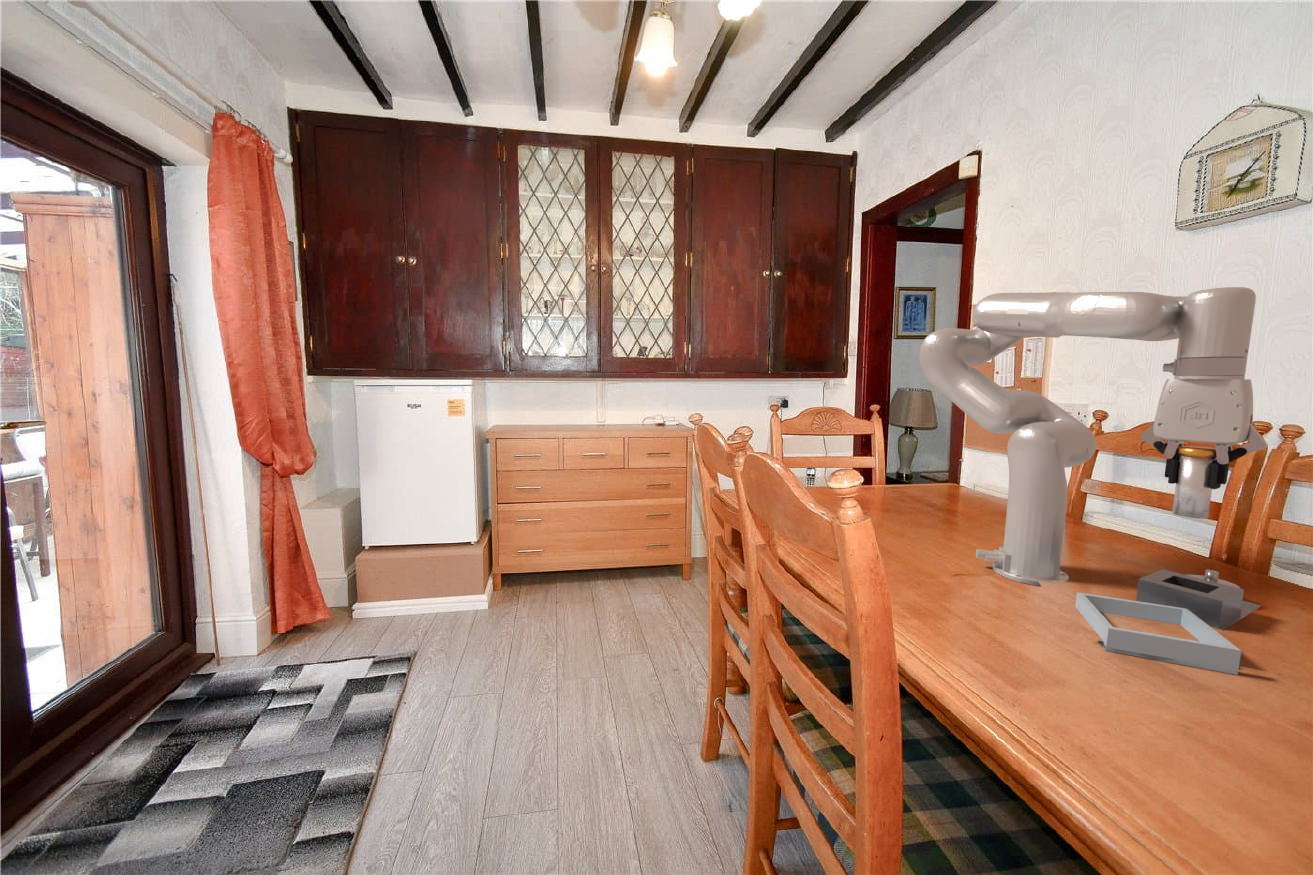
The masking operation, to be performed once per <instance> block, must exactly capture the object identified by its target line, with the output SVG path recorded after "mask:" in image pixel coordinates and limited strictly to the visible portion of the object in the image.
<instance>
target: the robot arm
mask: <svg viewBox="0 0 1313 875" xmlns="http://www.w3.org/2000/svg"><path fill="white" fill-rule="evenodd" d="M1256 297H1257V295H1256V292H1255V291H1254V290H1253V289H1251V288H1248V287H1243V286H1230V287H1229V286H1228V287H1216V288H1215V287H1214V288H1208V289H1207V288H1206V289H1201V290H1198V291H1194V292H1191V293H1190V294H1188V295H1187V296H1185V295H1184V296H1180V295H1179V296H1174V295H1165V294H1159V293H1153V292H1144V291H1089V292H1087V291H1086V292H1084V291H1083V292H1070V291H1069V292H1068V291H1067V292H1066V291H1065V292H1064V291H1063V292H1061V291H1060V292H998V293H993V294H989V295H987V296H985V297H983V298H981V299H980V300H979V301H978V302H977V304H975V306H974V308H973V311H972V321H973V323H974V325H975V326H976V328H974V329H967V328H955V327H954V328H952V327H949V328H942V329H938V330H935V331H933V332H931V333H929V334H928V335H927V336H926V337H925V338H924V339H923V341H922V343H921V345H920V349H919V364H920V368H921V372H922V374H923V376H924V377H925V379H926V380H927V381H928V382H929V384H931V386H932V387H933V388H934V389H936V390H937V391H938V392H939V393H941V394H942V395H943V396H945V397H946V398H947V399H949V400H950V401H951V402H952V403H953V404H954V405H956V407H958V408H959V409H960V410H961V411H962V412H964V414H966V415H967V416H968V417H969V418H971V420H973V421H974V422H975V423H977V424H978V425H979V426H980V427H981V428H982V429H984V430H985V431H987V432H989V433H990V434H996V435H997V434H999V435H1011V436H1010V437H1009V438H1008V442H1007V447H1006V453H1007V454H1006V456H1007V465H1008V492H1007V503H1006V504H1007V506H1006V515H1005V526H1004V527H1005V528H1004V537H1003V538H1004V539H1003V546H999V549H994V550H987V549H983V548H976V549H975V550H976V551H975V557H976V559H982V560H983V559H984V562H989V563H992V570H993V571H994V572H995V573H996V574H998V575H999V574H1000V575H999V576H1001V575H1002V576H1001V577H1003V576H1004V578H1006V579H1009V580H1011V581H1015V582H1018V583H1021V584H1026V585H1031V586H1036V587H1037V586H1038V587H1042V585H1041V584H1040V582H1043V583H1063V582H1067V581H1068V580H1069V579H1070V577H1069V575H1068V574H1067V573H1066V572H1063V571H1062V570H1061V564H1062V555H1063V542H1064V534H1065V526H1066V525H1065V523H1066V516H1067V508H1068V507H1067V505H1068V481H1067V477H1066V471H1065V470H1066V469H1065V468H1071V467H1076V466H1080V465H1082V464H1085V463H1087V462H1088V461H1089V460H1091V459H1092V458H1093V456H1094V455H1095V452H1096V451H1097V439H1096V437H1095V435H1094V433H1093V432H1092V431H1091V429H1090V428H1089V427H1087V426H1086V424H1084V423H1083V422H1081V421H1080V420H1078V418H1076V417H1074V416H1073V415H1071V414H1070V413H1069V412H1067V411H1066V410H1064V409H1063V408H1061V407H1060V406H1058V405H1057V404H1056V403H1054V402H1053V401H1051V400H1050V399H1048V398H1047V397H1045V396H1044V395H1042V394H1040V393H1037V392H1035V391H1032V390H1025V389H1010V388H1009V389H1008V388H1005V387H1003V386H1001V385H999V383H997V382H995V381H994V380H992V379H990V378H989V376H987V375H986V374H985V373H984V372H982V371H979V370H978V369H976V368H974V367H975V366H980V365H983V364H986V363H987V362H990V361H991V360H992V359H994V358H996V357H997V356H999V355H1000V354H1002V353H1003V352H1004V351H1006V350H1008V349H1009V348H1011V347H1013V345H1015V344H1017V343H1018V342H1019V341H1021V340H1022V339H1024V337H1038V338H1055V339H1056V338H1060V337H1064V336H1068V337H1069V336H1071V337H1072V336H1073V337H1075V336H1076V337H1092V338H1093V337H1094V338H1108V339H1118V340H1119V339H1120V340H1135V341H1143V342H1144V341H1145V342H1165V341H1172V340H1178V341H1177V351H1176V356H1175V358H1176V359H1174V361H1172V362H1169V363H1164V364H1163V365H1162V371H1163V372H1167V373H1171V374H1172V376H1173V378H1166V380H1165V382H1164V384H1163V387H1162V390H1161V392H1160V397H1159V398H1158V399H1159V400H1158V403H1157V409H1156V411H1155V417H1154V422H1153V423H1152V424H1151V425H1150V426H1149V427H1148V428H1146V430H1145V431H1144V432H1143V433H1142V434H1141V435H1140V436H1139V438H1140V439H1141V440H1142V441H1144V442H1145V443H1147V444H1149V445H1150V446H1152V447H1154V448H1155V449H1156V450H1157V451H1158V452H1159V453H1160V454H1162V455H1163V457H1164V459H1166V461H1165V468H1164V478H1168V480H1167V483H1168V484H1172V485H1173V484H1174V485H1175V484H1176V480H1177V472H1178V464H1179V456H1180V454H1177V451H1178V446H1184V443H1185V442H1186V443H1198V444H1209V445H1210V444H1211V445H1212V444H1213V445H1214V446H1215V448H1216V455H1217V457H1216V460H1215V463H1214V464H1212V465H1211V473H1210V480H1209V488H1210V489H1212V490H1218V489H1220V488H1221V486H1222V485H1226V484H1227V481H1228V475H1229V474H1228V473H1229V468H1230V463H1233V462H1235V461H1237V460H1239V459H1240V458H1242V457H1244V456H1245V455H1249V454H1252V453H1255V452H1257V451H1261V450H1265V449H1266V448H1268V447H1269V444H1268V443H1267V441H1266V440H1265V438H1264V437H1262V435H1261V434H1260V433H1259V431H1258V430H1257V429H1256V428H1255V427H1254V425H1253V423H1254V392H1253V386H1252V385H1253V384H1252V380H1251V379H1249V378H1247V379H1246V370H1247V363H1248V355H1249V350H1250V341H1251V336H1252V328H1253V323H1254V315H1255V308H1256V303H1257V302H1256V300H1257V299H1256ZM1166 441H1168V442H1166ZM1245 442H1248V444H1246V445H1243V446H1240V447H1236V448H1234V449H1233V445H1236V444H1241V443H1245Z"/></svg>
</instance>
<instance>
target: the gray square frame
mask: <svg viewBox="0 0 1313 875" xmlns="http://www.w3.org/2000/svg"><path fill="white" fill-rule="evenodd" d="M1074 607H1075V608H1076V609H1077V611H1078V612H1079V613H1080V614H1081V615H1082V617H1083V618H1084V619H1085V620H1086V621H1087V623H1088V625H1090V627H1091V628H1092V629H1093V630H1094V631H1095V632H1096V634H1097V635H1098V636H1099V637H1100V639H1101V640H1102V641H1101V640H1097V642H1098V643H1099V644H1100V646H1101V647H1102V648H1103V649H1104V651H1105V652H1111V653H1116V654H1120V655H1127V656H1132V657H1138V658H1143V659H1148V660H1154V661H1159V662H1166V663H1170V664H1175V665H1181V666H1186V667H1190V668H1191V667H1192V668H1198V669H1203V670H1209V671H1212V672H1213V671H1214V672H1220V673H1224V674H1230V675H1236V676H1238V675H1239V668H1240V663H1241V655H1242V650H1241V648H1239V647H1237V646H1236V644H1235V645H1234V644H1233V643H1232V642H1231V641H1230V640H1228V638H1226V637H1224V636H1223V635H1221V634H1220V632H1218V631H1217V630H1215V628H1213V627H1210V626H1209V625H1207V624H1206V623H1205V622H1203V621H1202V620H1201V619H1200V618H1198V617H1197V616H1196V615H1194V614H1193V613H1192V612H1190V611H1189V610H1188V609H1186V608H1179V607H1173V606H1166V605H1159V604H1152V603H1146V602H1139V601H1136V600H1131V599H1124V598H1117V597H1111V596H1110V597H1109V596H1104V595H1097V594H1091V593H1085V592H1078V591H1077V592H1076V597H1075V605H1074ZM1102 613H1104V614H1109V615H1116V616H1123V617H1128V618H1136V619H1142V620H1147V621H1154V622H1161V623H1166V624H1174V625H1180V626H1182V628H1184V630H1186V631H1187V632H1188V633H1190V635H1192V636H1193V637H1194V638H1196V639H1197V640H1193V639H1188V638H1187V639H1186V638H1181V637H1175V636H1169V635H1163V634H1157V633H1150V632H1144V631H1138V630H1132V629H1126V628H1122V627H1120V628H1119V627H1115V626H1113V625H1112V624H1111V623H1110V622H1109V621H1108V619H1107V618H1106V617H1105V616H1104V615H1103V614H1102Z"/></svg>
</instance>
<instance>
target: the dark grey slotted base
mask: <svg viewBox="0 0 1313 875" xmlns="http://www.w3.org/2000/svg"><path fill="white" fill-rule="evenodd" d="M1219 574H1220V572H1219V571H1216V570H1213V569H1205V573H1204V575H1199V574H1185V573H1184V574H1182V573H1179V572H1175V571H1172V570H1166V569H1163V568H1162V569H1160V570H1158V571H1155V572H1152V573H1150V574H1148V575H1146V576H1142V577H1140V578H1139V579H1138V583H1137V591H1136V599H1135V601H1139V602H1146V603H1152V604H1159V605H1166V606H1173V607H1179V608H1186V609H1188V610H1189V611H1190V612H1192V613H1193V614H1194V615H1196V616H1197V617H1198V618H1200V619H1201V620H1202V621H1203V622H1205V623H1206V624H1207V625H1209V626H1210V627H1211V628H1213V629H1217V630H1220V631H1224V630H1226V629H1228V628H1229V627H1231V626H1233V625H1235V624H1236V623H1237V622H1239V621H1240V620H1242V619H1244V618H1245V617H1247V616H1249V615H1250V614H1251V613H1253V612H1255V611H1256V610H1258V609H1260V608H1262V605H1261V604H1257V603H1253V602H1249V601H1246V600H1243V599H1244V592H1245V589H1243V588H1241V587H1240V586H1239V585H1237V584H1236V583H1233V582H1230V581H1228V580H1224V579H1221V578H1219V576H1220V575H1219Z"/></svg>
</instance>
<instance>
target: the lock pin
mask: <svg viewBox="0 0 1313 875" xmlns="http://www.w3.org/2000/svg"><path fill="white" fill-rule="evenodd" d="M1177 454H1180V456H1179V464H1178V472H1177V480H1176V483H1175V486H1174V494H1173V496H1174V497H1173V502H1172V510H1171V511H1172V512H1171V513H1172V514H1173V515H1176V516H1179V517H1185V518H1191V519H1209V514H1210V506H1211V498H1212V493H1213V489H1210V488H1209V480H1210V473H1211V465H1212V464H1214V463H1215V460H1216V459H1217V455H1216V448H1214V447H1207V446H1197V445H1196V446H1195V445H1191V446H1190V445H1183V446H1178V451H1177Z"/></svg>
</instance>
